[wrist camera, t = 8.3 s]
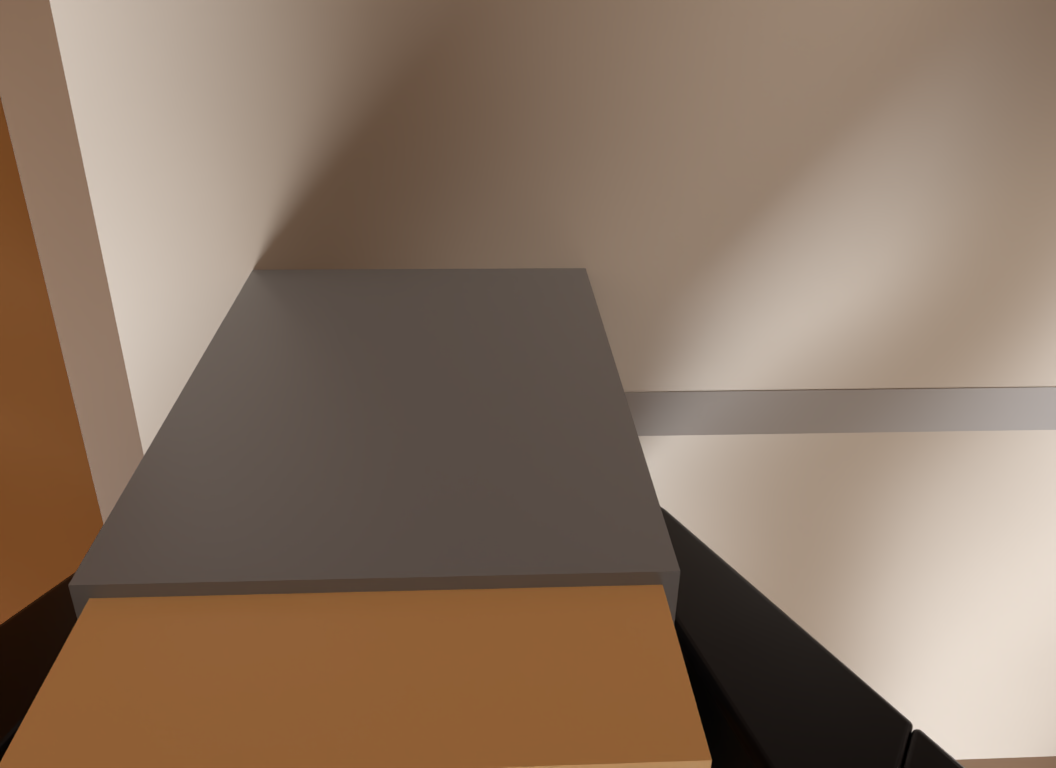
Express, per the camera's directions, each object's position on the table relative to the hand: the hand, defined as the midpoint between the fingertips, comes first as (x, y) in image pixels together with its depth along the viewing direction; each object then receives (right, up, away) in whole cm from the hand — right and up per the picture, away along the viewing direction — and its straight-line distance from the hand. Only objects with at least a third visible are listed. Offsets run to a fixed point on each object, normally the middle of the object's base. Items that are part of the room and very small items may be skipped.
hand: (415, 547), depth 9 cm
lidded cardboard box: (0, +1, +2) cm, 3 cm away
